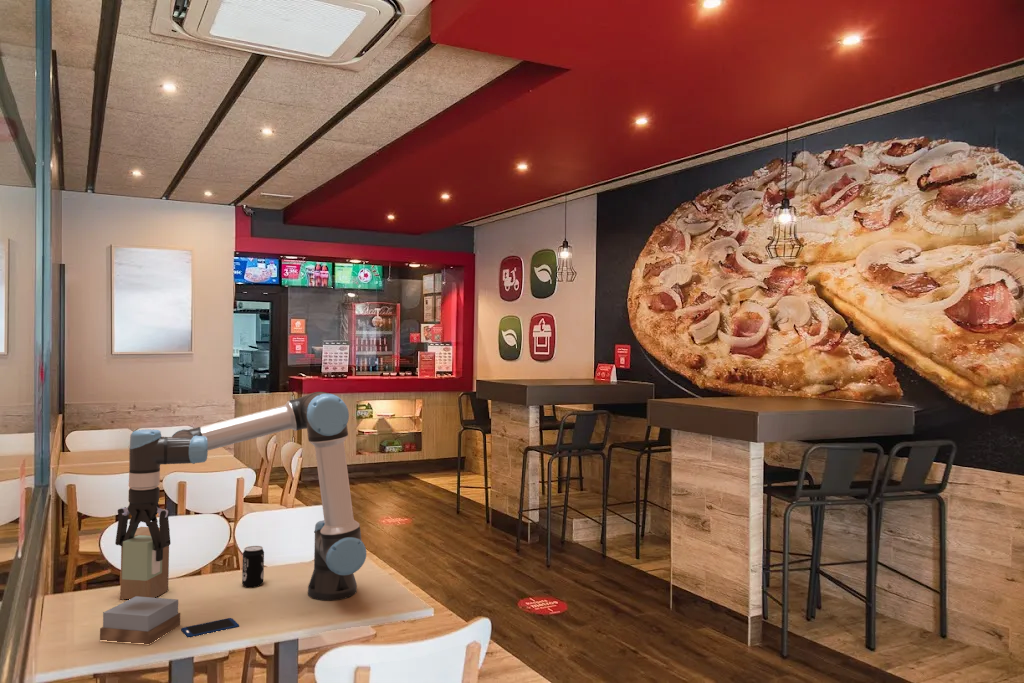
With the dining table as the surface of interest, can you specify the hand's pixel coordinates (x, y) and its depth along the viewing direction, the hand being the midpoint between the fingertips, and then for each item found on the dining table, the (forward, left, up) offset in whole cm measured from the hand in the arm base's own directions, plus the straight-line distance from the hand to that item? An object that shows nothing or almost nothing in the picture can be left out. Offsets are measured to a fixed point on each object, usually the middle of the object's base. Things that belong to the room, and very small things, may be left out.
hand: (142, 571), depth 202 cm
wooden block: (+17, -28, -17) cm, 37 cm away
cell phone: (-16, -6, -17) cm, 25 cm away
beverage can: (-11, -43, -17) cm, 47 cm away
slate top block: (0, 0, -13) cm, 13 cm away
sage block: (0, 0, -1) cm, 1 cm away
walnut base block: (0, 0, -17) cm, 17 cm away
